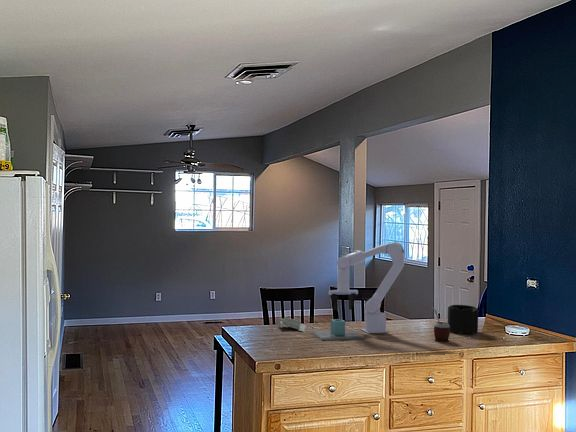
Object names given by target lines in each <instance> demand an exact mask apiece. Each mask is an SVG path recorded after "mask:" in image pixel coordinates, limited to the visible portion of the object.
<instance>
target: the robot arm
mask: <svg viewBox="0 0 576 432" xmlns="http://www.w3.org/2000/svg"><path fill="white" fill-rule="evenodd" d="M379 254H383V255H389V257H390V258H391V259H390V260H391V262H392V266H391V268H390V269H389V270H388V272H387V274H386V275H385V276H384V278H383V280H382V281H381V283H380V285H379V286H378V288H377V289H376V291H375V293H374V294H373V295H372V297H371V298H369V299H368V300H367V301H365V304H364V309H365V313H364V328H361V330H362V331H363V332H365V333H367V334H382V333H387V326H386V325H387V317H386V313H385V312H381V310H380V308H381V307H382V306H381V305H382V301H383V299H384V298H385V296H386V295H387V293H388V292H389V290H390V289H391V287H392V285H393V284H394V282H395V281H396V279H397V278H398V276H399V274H400V273H401V271H402V270H403V268H404V267H405V249H404V248H403V245H402V243H400V242H397V241H395V242H390V243H386V244H381V245H378V246H376V247H374V248H371V249H368V250H366V251H362V250H358V249H356V250H354V252H352V253H346V254H345V255H343V256H340V257H339V258H338V259H337V261H336V265H337V267H338V268H337V289H331V290H328V292H327V293H328V295H329V297H330V300H331V303H332V304H333V305H332V306H333V310H334V311H337V310H338V300H339V299H338V298H339V296H338V295H340V296H341V295H348V310H350V311H351V310H353V306H354V303H355V301H356V299H357V297H358V295H359V290H358V289H350V281H351V280H350V275H351V274H350V273H351V272H350V270H351V269H350V266H351V267H353V266H356V265H359V264H361V263H364V262H365V261H366V259H367V258H370V257H373V256H376V255H379Z"/></svg>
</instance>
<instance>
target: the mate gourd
mask: <svg viewBox="0 0 576 432" xmlns="http://www.w3.org/2000/svg"><path fill="white" fill-rule="evenodd" d="M430 308H431V309H432V310H433V311H434V312H435V315H436V318H437V322H435V324H434V326H433V335H434V342H442V343H443V344H444V343H446V342H449V338H450V334H451V332H450V326H449V324H448V322H445V321H440V318H439V315H438V312H437V310H436V309H435V308H434V307H433V306H432V305H430Z"/></svg>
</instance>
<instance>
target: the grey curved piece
mask: <svg viewBox="0 0 576 432" xmlns="http://www.w3.org/2000/svg"><path fill="white" fill-rule="evenodd" d="M278 320H279V321H278V324H277V326H276V327H278V329H280V327H281V325H284V326H286V327H290V328H293V329H296V330H298V332H299V331H300V332H302V333H305V332H306V327H307V325H305V324H303V323H302V322H301V321H300V320H297V319H294V318H288V317H287V316H284V317H283V318H281V317H280V318H279V319H278Z"/></svg>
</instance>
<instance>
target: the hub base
mask: <svg viewBox="0 0 576 432" xmlns="http://www.w3.org/2000/svg"><path fill="white" fill-rule="evenodd" d="M311 335H313V336H314V337H316V338H317V339H319V340H321V341H339V340H341V341H342V340H343V341H344V340H358V339H359V340H360V339H361V340H362V339H365V335H364V334H361V333H359V332H358V331H356V330H354V329H345V334H344V335H334V334H332V333H331V329H330V330H328V329H327V330H312V331H311Z"/></svg>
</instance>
